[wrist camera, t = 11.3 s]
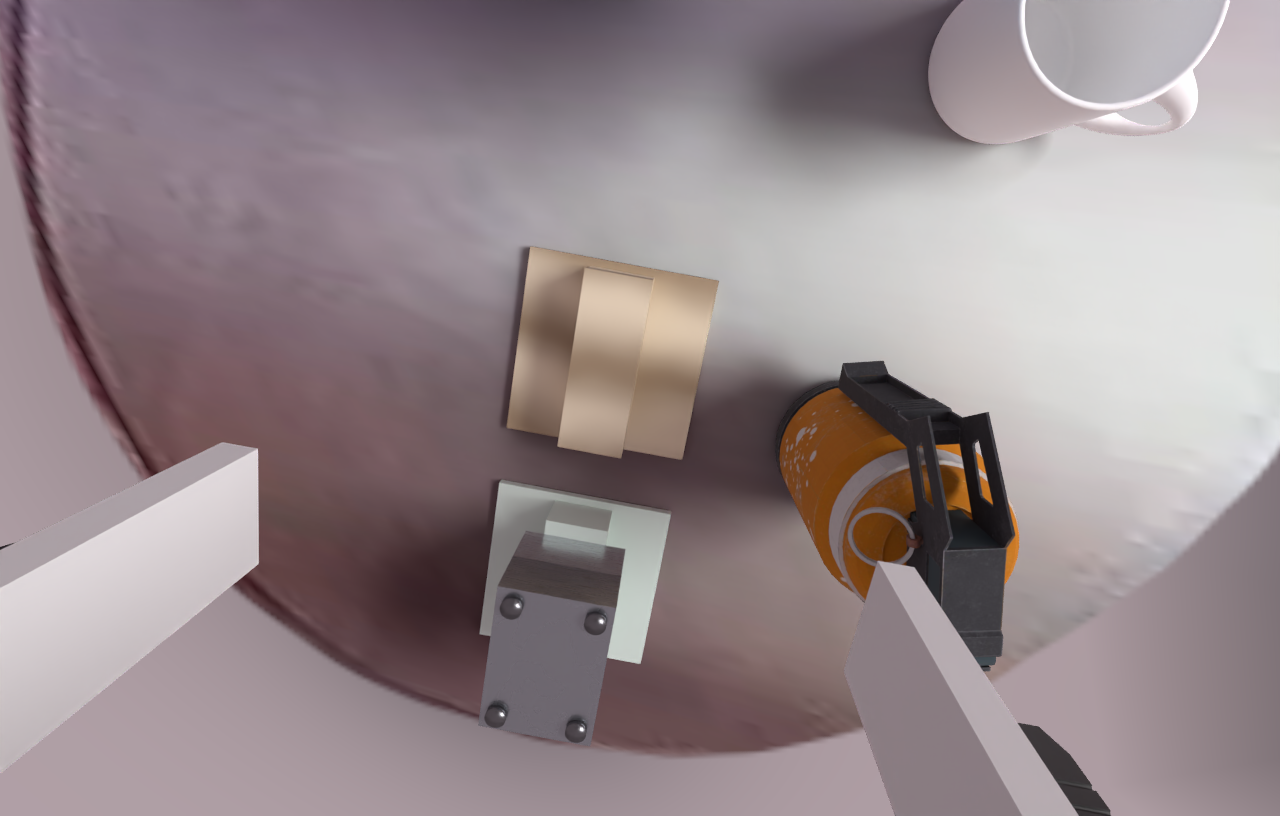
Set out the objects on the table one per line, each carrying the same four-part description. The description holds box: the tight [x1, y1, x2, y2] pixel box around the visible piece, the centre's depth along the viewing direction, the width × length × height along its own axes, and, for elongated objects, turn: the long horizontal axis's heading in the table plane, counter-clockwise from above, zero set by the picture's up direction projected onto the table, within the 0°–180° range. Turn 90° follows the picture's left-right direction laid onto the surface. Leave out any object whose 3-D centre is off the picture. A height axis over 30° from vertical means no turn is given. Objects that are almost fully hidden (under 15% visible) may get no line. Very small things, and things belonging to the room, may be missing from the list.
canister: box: [775, 361, 1019, 671], centre depth 33 cm, size 9×11×20 cm
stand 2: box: [480, 480, 671, 664], centre depth 45 cm, size 12×12×4 cm
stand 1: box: [507, 247, 719, 460], centre depth 41 cm, size 12×12×4 cm
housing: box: [478, 531, 625, 746], centre depth 39 cm, size 9×6×7 cm
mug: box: [928, 0, 1230, 144], centre depth 32 cm, size 9×12×11 cm
